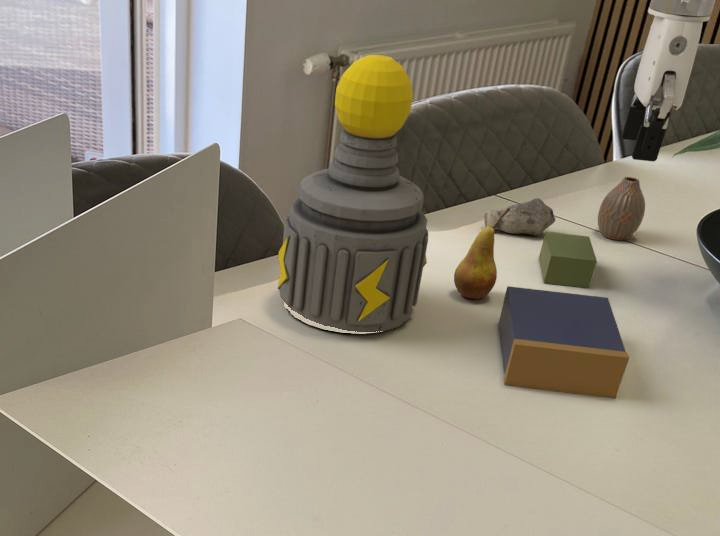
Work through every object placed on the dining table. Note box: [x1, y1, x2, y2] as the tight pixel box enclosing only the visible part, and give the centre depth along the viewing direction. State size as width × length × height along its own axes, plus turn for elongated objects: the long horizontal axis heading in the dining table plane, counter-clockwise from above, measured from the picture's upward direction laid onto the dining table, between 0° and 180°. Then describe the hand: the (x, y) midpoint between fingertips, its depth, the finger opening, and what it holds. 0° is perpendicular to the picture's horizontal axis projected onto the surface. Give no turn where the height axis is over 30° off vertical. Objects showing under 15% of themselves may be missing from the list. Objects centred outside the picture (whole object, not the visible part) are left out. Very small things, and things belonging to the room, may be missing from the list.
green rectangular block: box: [538, 231, 598, 289], centre depth 147 cm, size 7×10×4 cm, turn 171°
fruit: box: [453, 208, 510, 300], centre depth 135 cm, size 6×6×12 cm
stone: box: [483, 197, 556, 237], centre depth 158 cm, size 10×5×8 cm
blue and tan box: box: [498, 285, 630, 399], centre depth 124 cm, size 13×18×5 cm
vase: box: [597, 176, 646, 241], centre depth 158 cm, size 7×7×9 cm
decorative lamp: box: [277, 54, 429, 332], centre depth 124 cm, size 19×19×30 cm
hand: (638, 149), depth 135 cm, fingers open, 9 cm apart
